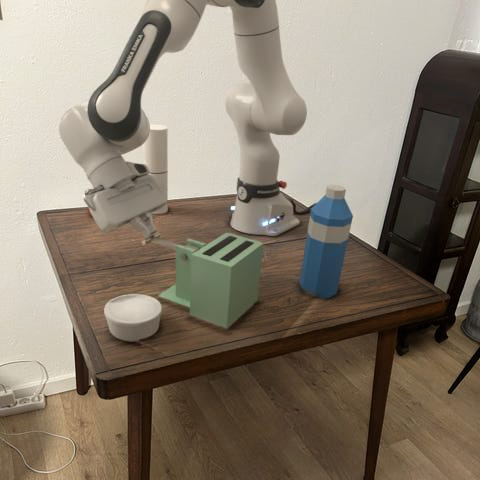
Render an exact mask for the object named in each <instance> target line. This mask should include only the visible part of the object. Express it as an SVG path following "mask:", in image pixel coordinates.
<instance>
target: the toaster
mask: <svg viewBox="0 0 480 480" xmlns="http://www.w3.org/2000/svg"><path fill="white" fill-rule="evenodd" d="M264 245H265V242H262V241H259V240H255V239H252V238H248V237H244V236H241V235H238V234H234V233H230V232H225V233H223V234H221V235H219V236H218V237H217V238H215V239H214V240H212V241H210V242H209V243H206V246H204V247H202V248H201V249H199V250H198V251H196V252H194V253H193V254H191V287H190V308H189V314H188V316H190V317H192V318H195V319H198V320H201V321H203V322H205V323H209V324H211V325H214V326H216V327H219V328H222V329H225V330H228V329H230V327H231V326H233V325H234V324H235V323H236V322H237V321H238V320H239V319H240V318H241V317H242V316H243V315H244V314H245V313H247V312H248V311H249V309H251V308H252V307H253V306H254V305H255V304H256V303H257V302H259V291H260V280H261V272H262V262H263V256H264V255H263V254H264Z"/></svg>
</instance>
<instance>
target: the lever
mask: <svg viewBox="0 0 480 480" xmlns="http://www.w3.org/2000/svg"><path fill="white" fill-rule="evenodd" d="M160 236H161V233H160V232H156V233H154V234H153V235H151V236H149V237H147V238H144V239H142V240H141V245H143V246H146V245H148V244H149V243H153V244H155V245H158V246H162V247H164V248H167V249H170V250H173V251H176V246H177V245H179V243H174V242H172V241H169V240H165V239H163V238H161V237H160ZM184 246H185V247H188V248H191V249H195V250H196V251H198V250H199V249H200V248H199V247H196V246H193V245H190V244H188V245H187V244H186V245H184Z"/></svg>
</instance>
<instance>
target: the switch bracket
mask: <svg viewBox="0 0 480 480" xmlns="http://www.w3.org/2000/svg"><path fill="white" fill-rule="evenodd" d="M188 244H190V245H193V246H196V247H199V248H200V249H201V248H202V247H204V246H206V245H207V243H205V242H202V241H200V240H195V239H193V238H188V239H186V245H188ZM186 245H181V244H178V245H177V246H176V250H175V283H174V284H173V285H171V286H170V287H169V288H167V289H165V290H164V291H162V292H161V293H159V294H158V295H157V297H158V298H161V299H164V300H166V301H169V302H172V303H175V304H176V305H177V304H178V305H180V306H183V307H186V308H188V309H190V287H191V254H193V253H194V252H196V250H195V249H191V248H188V247H185V246H186Z"/></svg>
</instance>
